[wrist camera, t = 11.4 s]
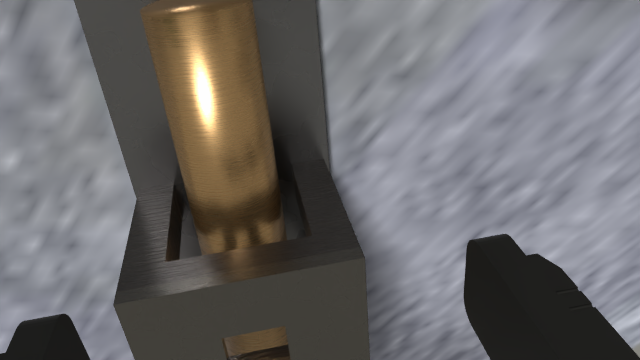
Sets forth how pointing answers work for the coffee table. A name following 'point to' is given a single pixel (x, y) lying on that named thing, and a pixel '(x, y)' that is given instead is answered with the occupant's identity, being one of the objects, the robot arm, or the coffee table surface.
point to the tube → (219, 128)
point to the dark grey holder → (178, 226)
